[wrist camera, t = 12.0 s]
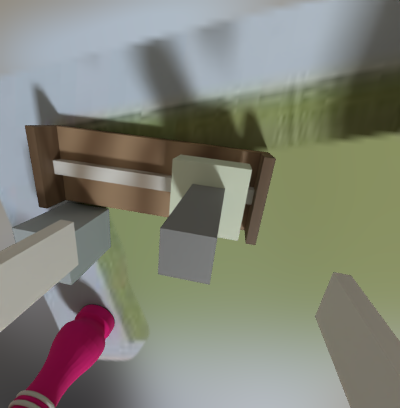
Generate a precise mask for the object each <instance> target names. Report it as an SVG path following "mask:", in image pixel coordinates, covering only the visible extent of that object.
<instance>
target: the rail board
mask: <svg viewBox="0 0 400 408" xmlns="http://www.w3.org/2000/svg"><path fill="white" fill-rule="evenodd" d="M25 129H26V135H27V141H28V146H29V152H30V158H31V163H32V169H33V175H34V180H35V186H36V192H37V197H38V203H39V207H42V208H49V207H51V206H53V205H56V204H58V203H60V202H62V201H65V200H69V201H75V202H81V203H87V204H93V205H99V206H105V207H110V208H117V209H122V210H128V211H134V212H140V213H146V214H152V215H157V216H163V217H169V209H170V193H171V178H172V162H173V158H175V157H177V156H179V155H188V156H196V157H203V158H210V159H218V160H225V161H232V162H239V163H247V164H250V166H251V168H252V173H251V178H250V183H249V188H248V193H247V198H246V203H245V208H244V213H243V218H242V222H241V227H240V230H245V240H246V244H252V245H255V244H256V240H257V236H258V232H259V227H260V223H261V219H262V215H263V211H264V206H265V202H266V198H267V194H268V189H269V185H270V180H271V177H272V173H273V168H274V164H275V160H276V159H275V158H274V157H273V156H272V155H271V154H270V153H268V152H260V151H253V150H245V149H237V148H230V147H222V146H214V145H207V144H199V143H191V142H184V141H176V140H168V139H161V138H153V137H145V136H138V135H130V134H122V133H115V132H107V131H99V130H92V129H84V128H76V127H69V126H61V125H25Z"/></svg>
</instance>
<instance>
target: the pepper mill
mask: <svg viewBox="0 0 400 408" xmlns="http://www.w3.org/2000/svg"><path fill="white" fill-rule="evenodd" d="M114 323H115V322H114V318H113V316H112V315H111V313H110V312H109V311H108V310H106V309H105V308H103V307H101V306H98V305H92V304H91V305H87V306H85V307H83V308H82V309H81V311H80V312H79V313H78V314H77V315H76V317H75V320H73V321H71V322H68V323H67V324H65V325H64V326H63V327H62V328H61V330H60V331H59V332H58V334H57V335H56V337H55V339H54V341H53V343H52V346H51V349H50V352H49V355H48V357H47V360H46V362H45V364H44V366H43V368H42V369H41V371H40V372H39V374H38V375H37V377H36V378H35V380H34V381H33V382H32V383H31V384H30V386H29V387H28V388H27V389H26V390H25V391H21V392H20V393H18V395H17V396H16V399H15V400H14V401H12V402H11V403H10V404H9V407H8V408H55V407H56V406H57V404H58V402H59V400H60V399H61V397H62V396H63V394H64V393H65V391H66V390H67V389H68V387H69V386H70V385H71V384H72V383H73V382H74V381H75V380H76V379H77V378H78V377H79V376H80V375H82V374H83V373H84V372H85V371H86V370H88V369H89V368H90V367H91V366H92V365H93V364H94V363H95V362H96V361H97V359H98V358H99V356H100V355H101V353H102V352H103V350H104V347H105V339H106V338H107V337H108V336H109V334H110V333H111V331H112V329H113V328H114Z"/></svg>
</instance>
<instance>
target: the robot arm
mask: <svg viewBox="0 0 400 408" xmlns="http://www.w3.org/2000/svg"><path fill="white" fill-rule="evenodd" d="M77 265H79V263H78V255H77V246H76V237H75V229H74V222H71V221H66V220H59V221H57V222H55V223H53V224H51V225H49V226H47V227H46V228H44V229H42V230H40V231H38V232H36V233H34V234H32V235H30V236H28V237H27V238H25V239H23V240H21V241H19V242H17V243H15V244H13V245H12V246H9V247H8V248H6V249H4V250H2V251H0V332H1V331H2V330H3V329H4V328H6V327H7V326H8V325H9V324H10V323H11V322H13V321H14V320H15V319H16V318H17V317H18V316H20V315H21V314H22V313H23V312H24V311H25V310H27V308H29V307H30V306H31V305H32V304H33V303H35V302H36V301H37V300H38V299H39V298H40V297H42V296H43V295H44V294H45V293H46V292H47V291H49V290H50V289H51V288H52V287H53V286H54V285H55V284H57V283H58V282H59V281H60V280H61V279H62V278H64V277H65V276H66V275H67V274H68V273H69V272H71V271H72V270H73V269H74V268H75V267H76V266H77ZM315 317H316V320H317V322H318V325H319V328H320V330H321V333H322V335H323V338H324V340H325V343H326V346H327V348H328V351H329V353H330V356H331V358H332V361H333V363H334V366H335V369H336V371H337V374H338V376H339V379H340V382H341V384H342V386H343V389H344V392H345V394H346V397H347V399H348V402H349V405H350V407H351V408H400V341H399V340H398V338H397V337H396V336H395V334H394V333H393V332H392V331H391V329H390V328H389V326H388V325H387V323H386V322H385V321H384V319H383V318H382V317H381V315H380V314H379V313H378V311H377V310H376V308H375V307H374V306H373V305H372V303H371V302H370V300H369V299H368V298H367V296H366V295H365V294H364V292H363V291H362V290H361V288H360V287H359V285H358V284H357V283H356V281H355V280H354V279H353V277H352V276H351V275H346V274H341V273H336V272H333V274H332V277H331V279H330V281H329V284H328V286H327V289H326V291H325V294H324V296H323V298H322V301H321V303H320V306H319V308H318V311H317V313H316V315H315Z"/></svg>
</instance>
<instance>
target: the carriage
mask: <svg viewBox="0 0 400 408" xmlns="http://www.w3.org/2000/svg"><path fill="white" fill-rule="evenodd" d="M251 173H252V168H251V166H250V164H247V163H239V162H232V161H225V160H218V159H210V158H203V157H196V156H188V155H179V156H177V157H175V158H173V162H172V178H171V193H170V209H169V217H168V218H167V220H166V221H165V222H164V224H163V225H162V226H161V228H160V245H159V266H158V274H160V275H165V276H170V277H175V278H180V279H185V280H190V281H195V282H200V283H205V284H210V279H211V272H212V267H213V261H214V254H215V248H216V242H217V237H220V238H226V239H231V240H236V241H237V240H238V237H239V232H240V227H241V222H242V218H243V213H244V208H245V203H246V198H247V193H248V188H249V183H250V178H251Z"/></svg>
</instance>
